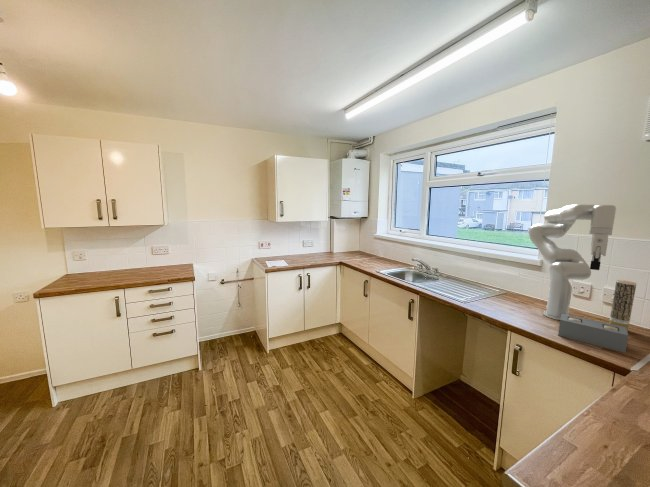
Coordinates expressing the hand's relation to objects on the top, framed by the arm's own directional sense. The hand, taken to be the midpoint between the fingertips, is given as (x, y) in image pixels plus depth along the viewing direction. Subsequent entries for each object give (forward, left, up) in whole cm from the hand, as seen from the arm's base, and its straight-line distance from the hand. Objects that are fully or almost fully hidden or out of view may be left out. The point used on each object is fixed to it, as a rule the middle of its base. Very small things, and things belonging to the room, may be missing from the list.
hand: (594, 269), depth 130 cm
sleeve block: (+8, -2, -32) cm, 33 cm away
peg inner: (+5, -8, -32) cm, 33 cm away
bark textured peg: (-10, +20, -32) cm, 39 cm away
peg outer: (+11, +3, -32) cm, 34 cm away
